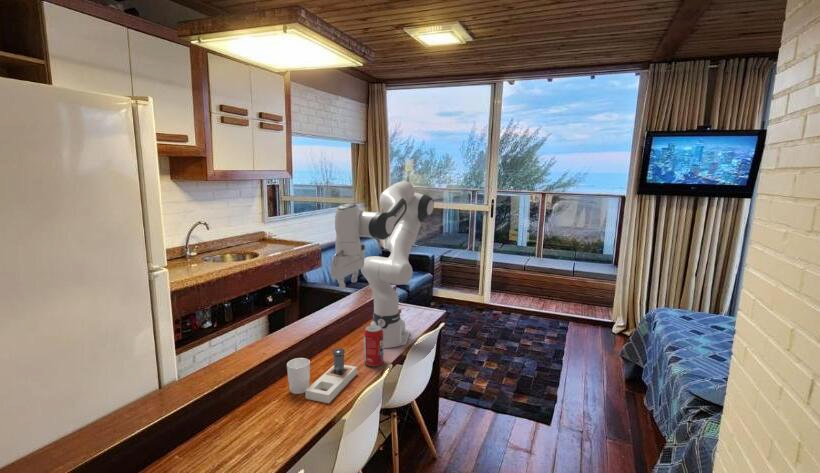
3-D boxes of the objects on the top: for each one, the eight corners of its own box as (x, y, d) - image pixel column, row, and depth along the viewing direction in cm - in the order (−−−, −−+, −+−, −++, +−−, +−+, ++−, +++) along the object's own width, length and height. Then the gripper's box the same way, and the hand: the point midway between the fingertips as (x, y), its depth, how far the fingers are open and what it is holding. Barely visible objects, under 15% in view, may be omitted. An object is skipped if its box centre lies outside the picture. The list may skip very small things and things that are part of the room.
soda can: (360, 363, 165) (359, 328, 162) (374, 356, 170) (374, 322, 168) (373, 369, 160) (372, 333, 157) (387, 363, 165) (387, 327, 163)
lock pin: (337, 375, 155) (336, 347, 153) (347, 377, 154) (346, 349, 152) (331, 380, 151) (330, 352, 149) (341, 382, 150) (341, 354, 148)
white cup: (315, 385, 147) (314, 359, 146) (302, 397, 140) (301, 369, 139) (296, 381, 150) (295, 356, 149) (283, 392, 143) (282, 365, 141)
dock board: (335, 370, 159) (335, 362, 158) (356, 374, 156) (356, 366, 155) (305, 398, 139) (305, 389, 139) (328, 403, 136) (328, 394, 136)
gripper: (341, 254, 138) (342, 294, 140) (367, 244, 157) (367, 279, 159) (325, 253, 140) (326, 292, 142) (352, 243, 159) (353, 277, 161)
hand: (348, 285), depth 151 cm, fingers open, 8 cm apart
